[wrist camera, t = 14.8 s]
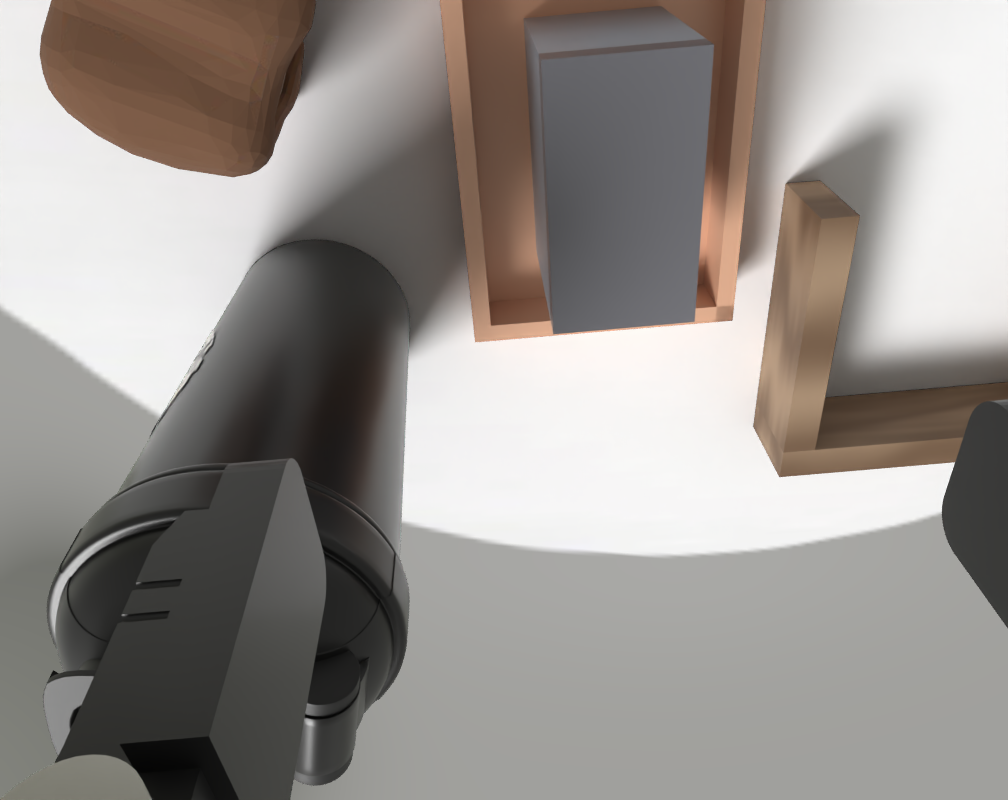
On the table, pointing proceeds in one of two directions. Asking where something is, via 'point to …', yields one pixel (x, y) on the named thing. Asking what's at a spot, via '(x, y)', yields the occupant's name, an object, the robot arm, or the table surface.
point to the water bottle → (270, 436)
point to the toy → (179, 75)
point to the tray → (508, 167)
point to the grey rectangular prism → (618, 164)
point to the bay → (808, 357)
